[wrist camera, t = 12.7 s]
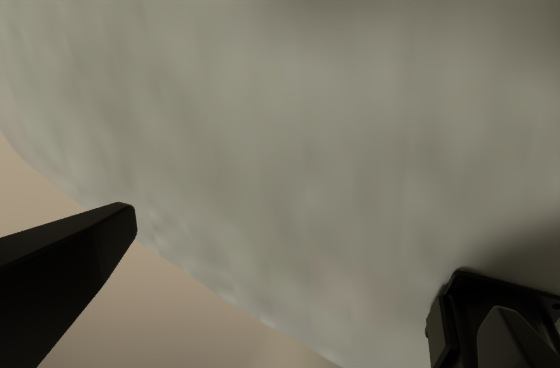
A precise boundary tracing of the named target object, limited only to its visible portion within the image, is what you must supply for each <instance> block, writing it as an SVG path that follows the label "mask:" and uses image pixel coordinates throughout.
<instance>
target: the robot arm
mask: <svg viewBox="0 0 560 368" xmlns="http://www.w3.org/2000/svg"><path fill="white" fill-rule="evenodd" d="M136 235H137V222H136V215H135V209H134V207H133V206H132V205H130V204H126V203H122V202H115V203H112V204H109V205H106V206H102V207H99V208H96V209H93V210H89V211H86V212H83V213H79V214H76V215H73V216H70V217H67V218H63V219H60V220H57V221H53V222H50V223H47V224H44V225H41V226H37V227H34V228H31V229H27V230H24V231H21V232H17V233H14V234H11V235H8V236H5V237H1V238H0V368H37V367H38V365H39V364H40V363H41V362H42V360H43V359H44V358H45V357H46V355H47V354H48V353H49V352H50V351H51V349H52V348H53V347H54V346H55V344H56V343H57V342H58V341H59V340H60V338H61V337H62V336H63V335H64V333H65V332H66V331H67V330H68V329H69V327H70V326H71V325H72V324H73V322H74V321H75V320H76V319H77V317H78V316H79V315H80V314H81V312H82V311H83V310H84V309H85V307H87V305H88V304H89V303H90V302H91V300H92V299H93V298H94V297H95V295H96V294H97V293H98V292H99V290H100V289H101V288H102V286H103V285H104V284H105V283H106V281H107V280H108V278H109V277H110V275H111V274H112V272H113V271H114V269H115V268H116V266H117V265H118V263H119V262H120V260H121V259H122V257H123V255H124V254H125V253H126V251H127V250H128V248H129V246H130V245H131V244H132V242H133V241H134V239H135V237H136ZM459 278H464V279H462V280H460V279H459ZM556 303H558V304H556ZM553 304H555V305H553ZM559 317H560V296H557V295H553V294H549V293H545V292H542V291H538V290H534V289H530V288H526V287H523V286H519V285H515V284H511V283H507V282H504V281H500V280H496V279H492V278H488V277H485V276H481V275H477V274H473V273H469V272H466V271H456V272H454V274H453V275H452V277H451V279H450V281H449V283H448V285H447V287H446V289H445V291H444V293H443V294H441V295H439V296H438V297H437V299H436V301H435V303H434V305H433V307H432V309H431V311H430V313H429V315H428V317H427V319H426V323H427V326H426V328H425V335H426V337H427V338H428V342H429V352H430V362H431V368H560V335H559V333H558V330H557V328H556V326H555V322H556V321H557V320H558V319H559Z"/></svg>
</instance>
